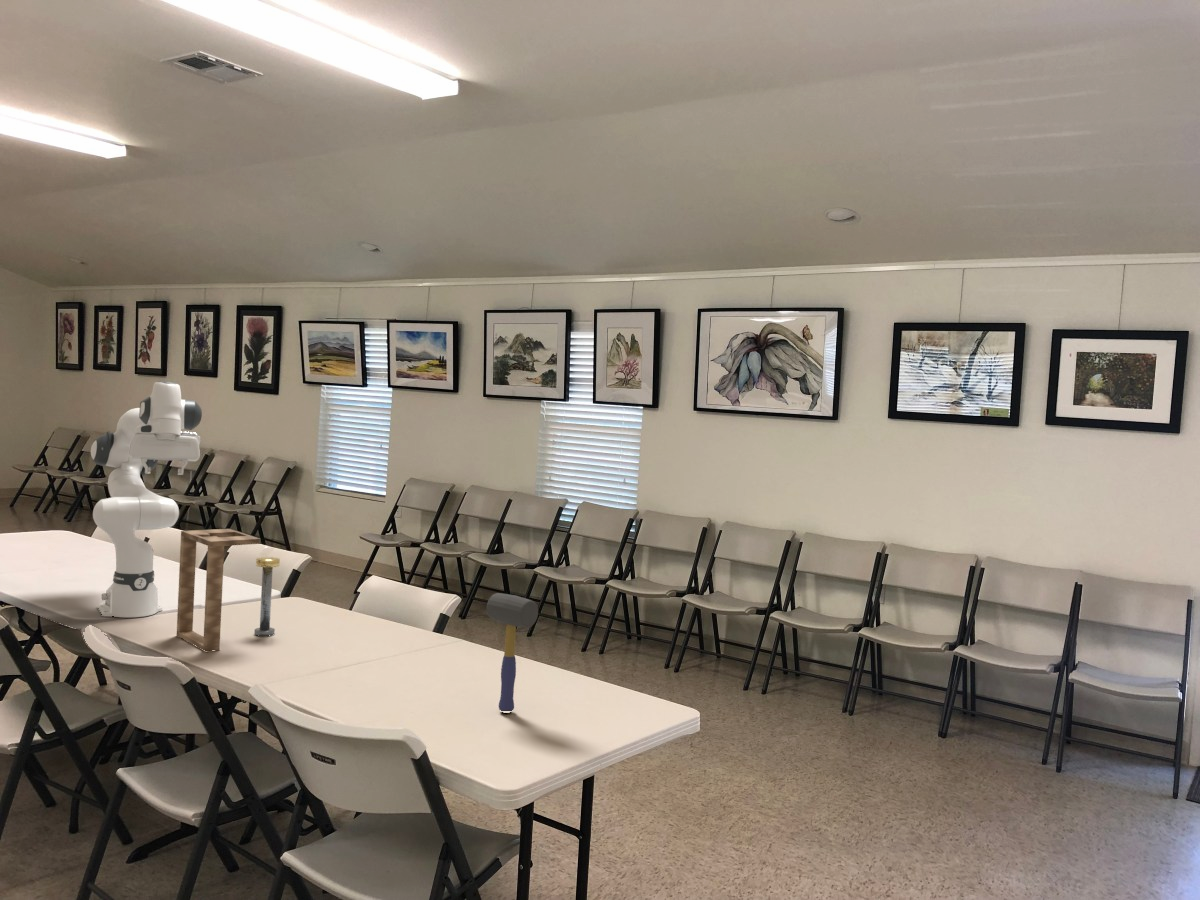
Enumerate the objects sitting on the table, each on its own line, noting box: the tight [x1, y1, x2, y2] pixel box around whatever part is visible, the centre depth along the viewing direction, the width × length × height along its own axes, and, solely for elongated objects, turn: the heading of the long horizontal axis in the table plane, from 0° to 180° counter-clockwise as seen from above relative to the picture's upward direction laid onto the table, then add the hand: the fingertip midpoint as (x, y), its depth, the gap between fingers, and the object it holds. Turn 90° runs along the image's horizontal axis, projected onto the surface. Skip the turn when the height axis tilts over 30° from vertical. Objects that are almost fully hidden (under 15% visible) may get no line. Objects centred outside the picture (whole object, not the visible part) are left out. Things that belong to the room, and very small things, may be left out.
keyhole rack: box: [176, 528, 262, 652], centre depth 287 cm, size 15×22×32 cm
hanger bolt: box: [253, 556, 281, 637], centre depth 298 cm, size 7×7×24 cm
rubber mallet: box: [486, 592, 539, 712], centre depth 238 cm, size 12×8×30 cm, turn 54°
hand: (164, 473), depth 295 cm, fingers open, 8 cm apart
